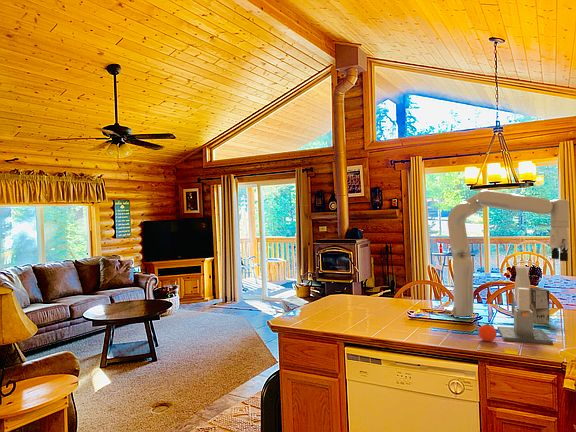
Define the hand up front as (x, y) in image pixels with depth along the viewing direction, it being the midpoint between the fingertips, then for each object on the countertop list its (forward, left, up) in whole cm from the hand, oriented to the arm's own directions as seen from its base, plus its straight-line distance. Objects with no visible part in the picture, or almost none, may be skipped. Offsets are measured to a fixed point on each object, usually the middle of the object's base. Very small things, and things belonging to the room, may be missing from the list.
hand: (559, 259), depth 208 cm
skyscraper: (-13, +16, -32) cm, 38 cm away
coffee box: (-8, +2, -31) cm, 32 cm away
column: (-21, -30, -29) cm, 47 cm away
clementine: (-37, -41, -31) cm, 63 cm away
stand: (-21, -30, -31) cm, 48 cm away
